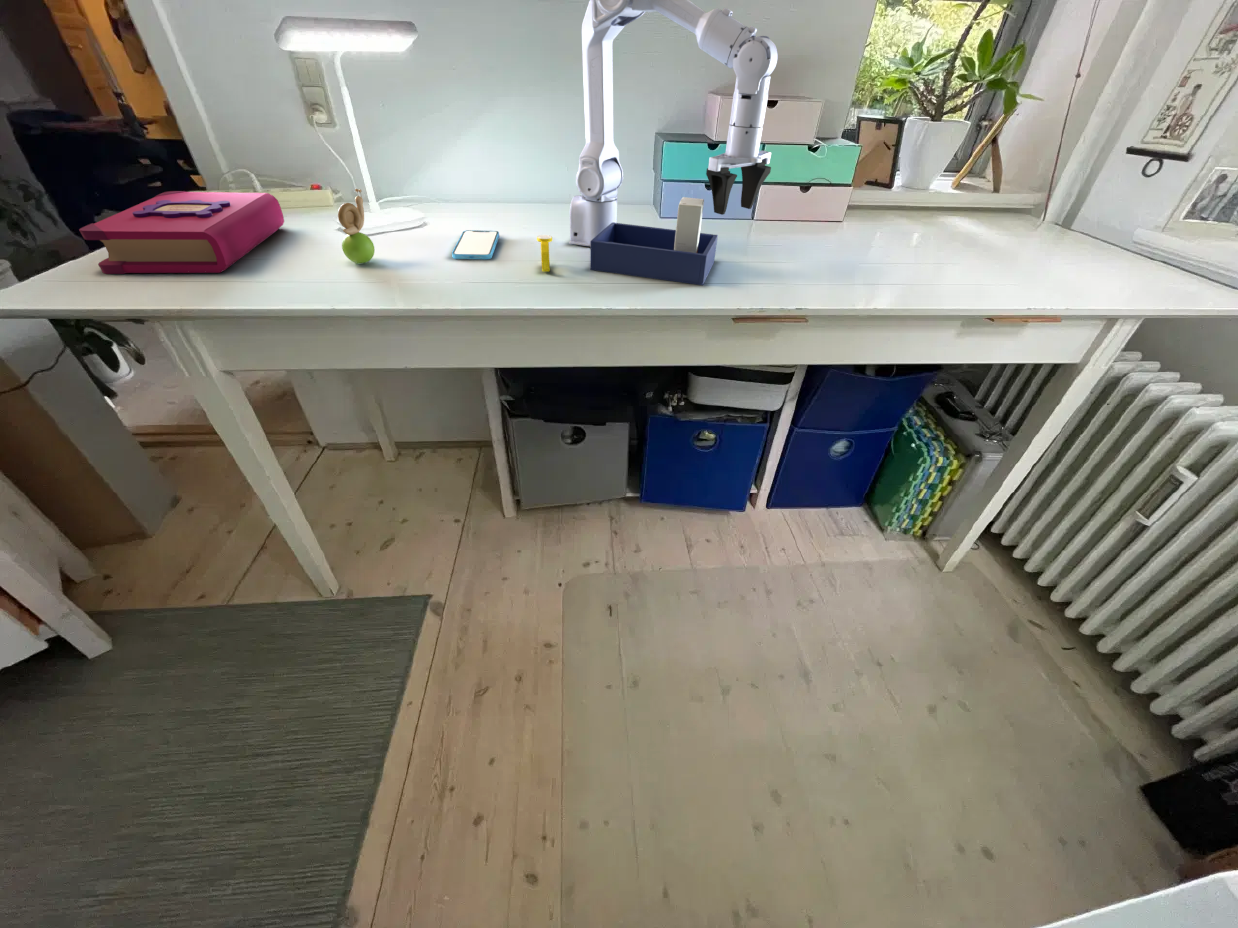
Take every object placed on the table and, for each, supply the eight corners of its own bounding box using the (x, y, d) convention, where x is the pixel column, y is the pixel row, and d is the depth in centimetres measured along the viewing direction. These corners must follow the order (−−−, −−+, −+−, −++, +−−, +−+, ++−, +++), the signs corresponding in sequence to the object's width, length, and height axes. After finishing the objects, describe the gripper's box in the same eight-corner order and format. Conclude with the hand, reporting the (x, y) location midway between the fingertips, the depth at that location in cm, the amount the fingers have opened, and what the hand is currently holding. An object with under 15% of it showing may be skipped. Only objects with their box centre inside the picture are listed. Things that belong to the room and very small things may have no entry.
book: (287, 228, 118) (275, 189, 113) (229, 273, 96) (211, 228, 91) (182, 227, 115) (164, 188, 111) (98, 274, 94) (72, 227, 89)
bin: (590, 269, 104) (590, 241, 101) (611, 249, 114) (611, 222, 111) (702, 285, 100) (706, 255, 96) (714, 262, 110) (717, 235, 107)
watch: (553, 275, 101) (552, 242, 97) (538, 275, 101) (536, 241, 97) (553, 264, 106) (552, 232, 102) (538, 264, 105) (537, 232, 102)
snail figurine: (387, 259, 105) (371, 190, 97) (364, 269, 100) (346, 198, 92) (363, 255, 106) (346, 187, 99) (339, 265, 101) (320, 194, 94)
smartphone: (450, 254, 105) (463, 230, 117) (451, 260, 106) (464, 235, 118) (490, 255, 106) (499, 231, 117) (491, 261, 107) (499, 236, 118)
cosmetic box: (693, 275, 103) (702, 206, 96) (671, 272, 104) (677, 204, 96) (696, 264, 108) (704, 198, 100) (675, 262, 108) (681, 196, 101)
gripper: (736, 131, 88) (723, 221, 96) (790, 126, 95) (774, 210, 104) (703, 125, 92) (694, 212, 100) (758, 121, 99) (745, 202, 108)
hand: (732, 210), depth 102 cm, fingers open, 7 cm apart
